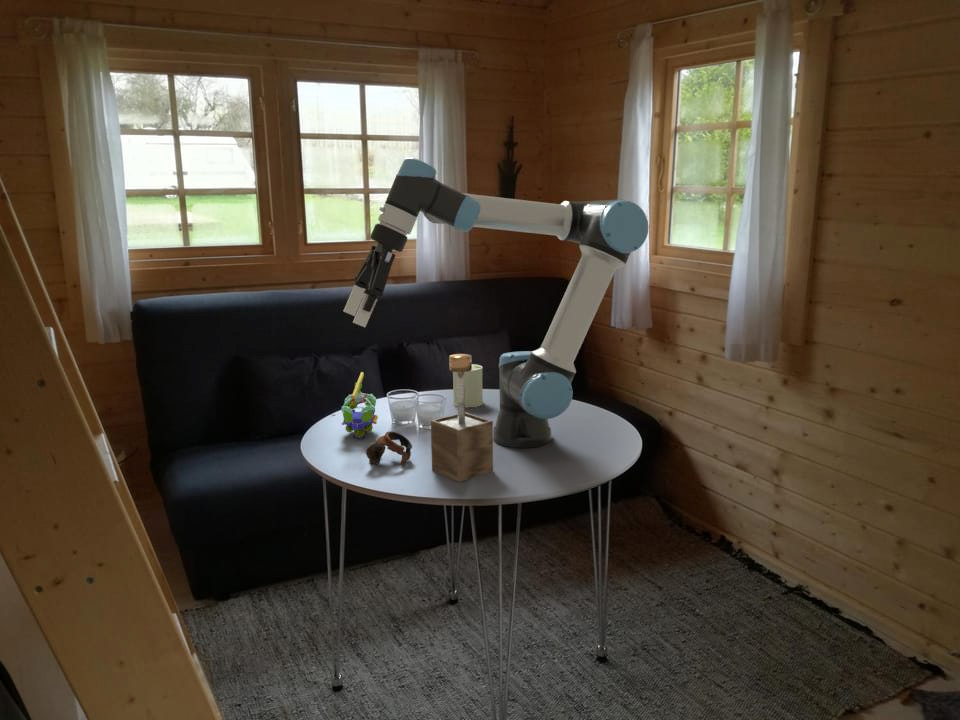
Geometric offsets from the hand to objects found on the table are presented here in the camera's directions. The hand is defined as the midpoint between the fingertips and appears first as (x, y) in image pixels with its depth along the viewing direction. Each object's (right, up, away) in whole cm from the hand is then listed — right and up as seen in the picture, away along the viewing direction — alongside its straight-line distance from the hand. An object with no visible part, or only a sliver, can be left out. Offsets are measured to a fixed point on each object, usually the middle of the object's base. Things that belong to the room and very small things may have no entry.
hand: (353, 319), depth 158 cm
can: (+24, -23, +64) cm, 72 cm away
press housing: (+23, -34, +10) cm, 43 cm away
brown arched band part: (+5, -34, +15) cm, 37 cm away
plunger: (+23, -24, +7) cm, 34 cm away
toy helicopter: (-4, -29, +36) cm, 46 cm away
